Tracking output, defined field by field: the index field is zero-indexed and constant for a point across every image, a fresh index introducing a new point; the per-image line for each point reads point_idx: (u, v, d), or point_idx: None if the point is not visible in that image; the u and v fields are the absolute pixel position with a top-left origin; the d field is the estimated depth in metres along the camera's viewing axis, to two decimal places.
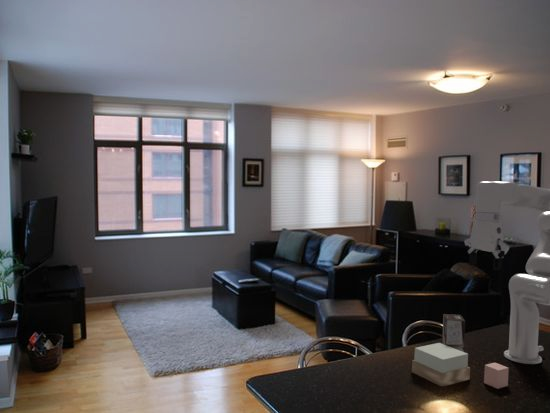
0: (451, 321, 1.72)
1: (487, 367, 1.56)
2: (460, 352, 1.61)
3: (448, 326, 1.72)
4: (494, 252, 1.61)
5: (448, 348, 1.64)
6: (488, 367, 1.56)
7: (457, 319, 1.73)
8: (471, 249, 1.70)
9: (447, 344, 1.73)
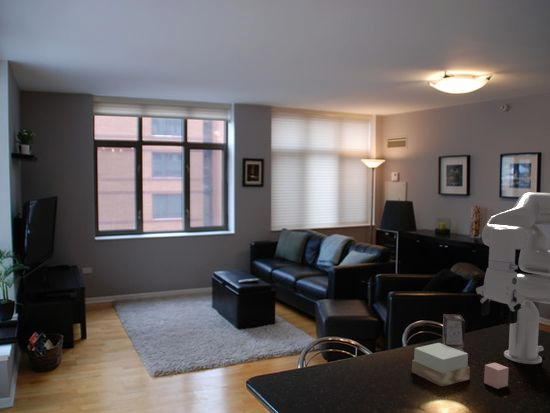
0: (451, 321, 1.72)
1: (487, 367, 1.56)
2: (460, 352, 1.61)
3: (448, 326, 1.72)
4: (509, 304, 1.50)
5: (448, 348, 1.64)
6: (488, 367, 1.56)
7: (457, 319, 1.73)
8: (484, 299, 1.58)
9: (447, 344, 1.73)
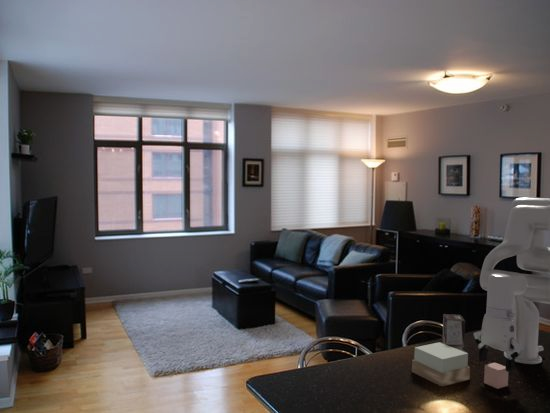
0: (451, 321, 1.72)
1: (487, 367, 1.56)
2: (460, 352, 1.61)
3: (448, 326, 1.72)
4: (507, 352, 1.51)
5: (448, 348, 1.65)
6: (488, 367, 1.56)
7: (457, 319, 1.73)
8: (481, 344, 1.59)
9: (447, 344, 1.73)
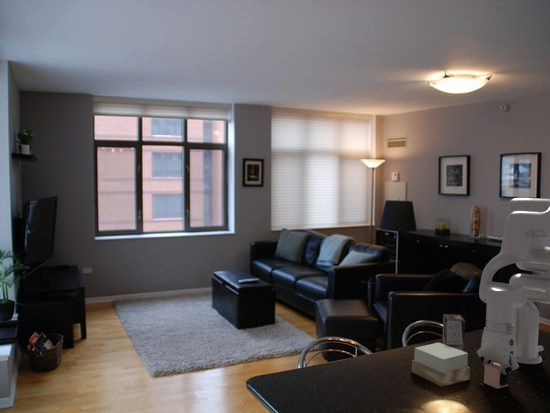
0: (451, 321, 1.72)
1: (487, 367, 1.56)
2: (460, 351, 1.61)
3: (448, 326, 1.72)
4: (502, 367, 1.53)
5: (448, 348, 1.65)
6: (488, 367, 1.56)
7: (457, 319, 1.73)
8: (485, 361, 1.58)
9: (447, 344, 1.73)
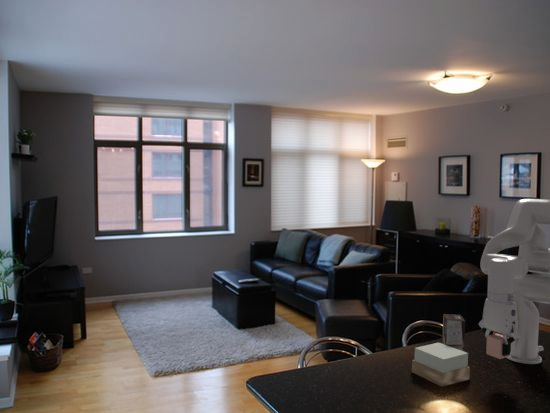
0: (451, 321, 1.72)
1: (489, 338, 1.56)
2: (460, 351, 1.61)
3: (448, 326, 1.72)
4: (504, 337, 1.53)
5: (448, 348, 1.65)
6: (490, 338, 1.56)
7: (457, 319, 1.73)
8: (487, 332, 1.58)
9: (447, 344, 1.73)
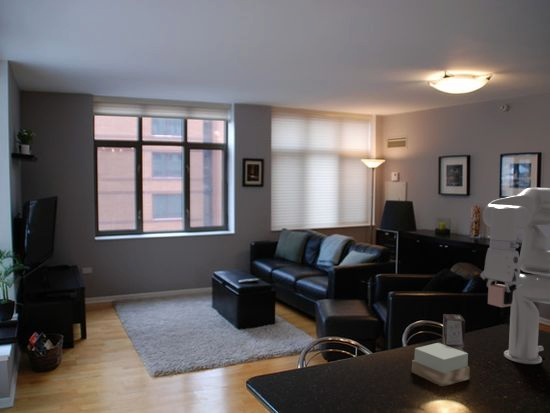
0: (451, 321, 1.72)
1: (491, 287, 1.55)
2: (460, 352, 1.61)
3: (448, 326, 1.72)
4: (506, 285, 1.51)
5: (448, 348, 1.65)
6: (492, 287, 1.55)
7: (457, 319, 1.73)
8: (489, 282, 1.57)
9: (447, 344, 1.73)
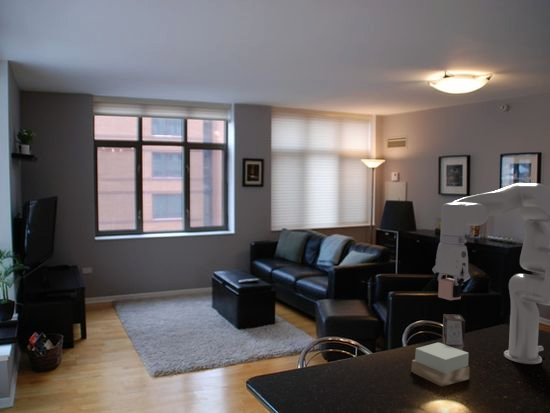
0: (451, 321, 1.72)
1: (441, 281, 1.60)
2: (460, 351, 1.61)
3: (448, 326, 1.72)
4: (455, 279, 1.57)
5: (448, 348, 1.65)
6: (442, 281, 1.60)
7: (457, 319, 1.73)
8: (440, 276, 1.62)
9: (447, 344, 1.73)
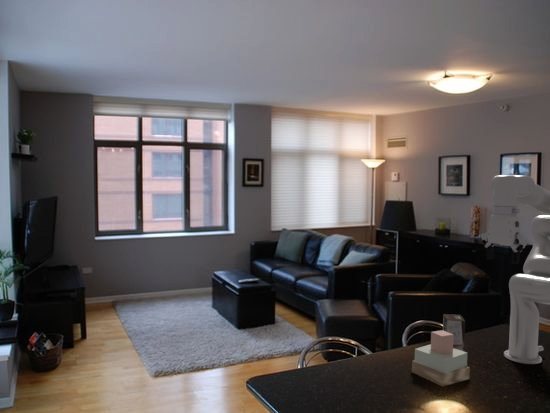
0: (451, 321, 1.72)
1: (433, 334, 1.62)
2: (459, 351, 1.62)
3: (448, 326, 1.72)
4: (512, 246, 1.61)
5: None
6: (434, 334, 1.62)
7: (457, 319, 1.73)
8: (488, 243, 1.69)
9: None
